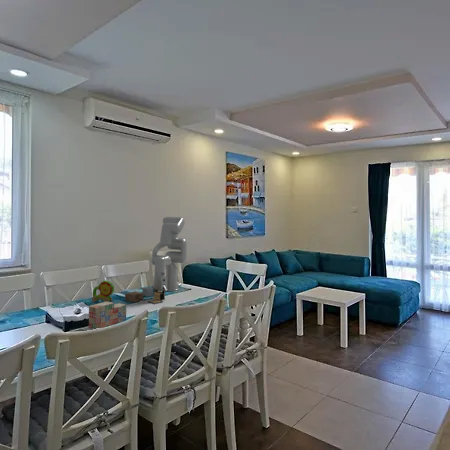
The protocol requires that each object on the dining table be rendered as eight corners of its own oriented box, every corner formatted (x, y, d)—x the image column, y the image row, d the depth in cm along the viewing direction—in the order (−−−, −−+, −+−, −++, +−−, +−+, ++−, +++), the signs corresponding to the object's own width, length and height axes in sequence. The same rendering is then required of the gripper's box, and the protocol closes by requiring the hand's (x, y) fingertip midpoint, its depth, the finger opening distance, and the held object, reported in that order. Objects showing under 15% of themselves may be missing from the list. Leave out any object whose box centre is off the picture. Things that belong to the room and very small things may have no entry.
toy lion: (91, 301, 252) (91, 280, 251) (95, 300, 257) (96, 279, 256) (110, 304, 247) (111, 282, 247) (115, 302, 253) (115, 280, 252)
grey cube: (148, 294, 278) (148, 287, 278) (152, 295, 275) (152, 288, 275) (142, 295, 274) (142, 288, 274) (147, 296, 271) (147, 289, 270)
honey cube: (159, 298, 267) (159, 290, 266) (164, 299, 263) (164, 292, 263) (153, 299, 262) (154, 292, 262) (158, 300, 259) (158, 293, 259)
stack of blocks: (119, 318, 216) (119, 298, 215) (126, 320, 212) (126, 299, 212) (88, 327, 198) (88, 305, 197) (95, 330, 194) (95, 307, 194)
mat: (156, 300, 261) (156, 299, 261) (163, 302, 255) (163, 301, 255) (147, 302, 254) (147, 301, 254) (154, 304, 249) (154, 303, 249)
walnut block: (135, 298, 265) (135, 291, 265) (143, 300, 260) (143, 293, 259) (125, 300, 258) (125, 293, 258) (132, 302, 253) (132, 295, 253)
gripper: (171, 274, 260) (171, 299, 260) (156, 271, 270) (155, 295, 271) (163, 276, 254) (163, 301, 254) (148, 273, 265) (147, 297, 265)
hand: (159, 298), depth 263 cm, fingers closed on honey cube, 5 cm apart
